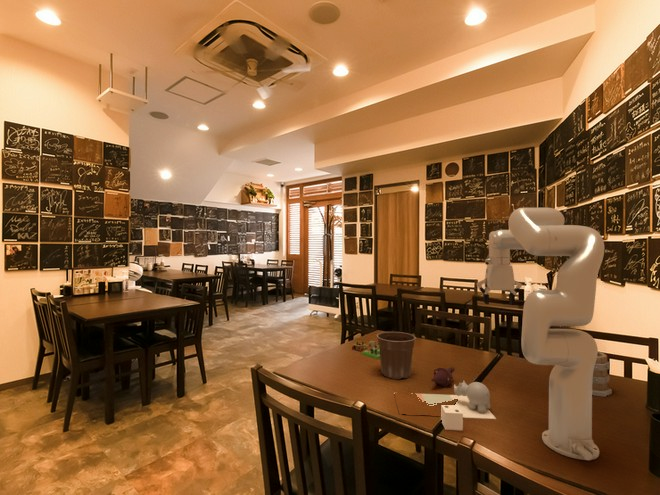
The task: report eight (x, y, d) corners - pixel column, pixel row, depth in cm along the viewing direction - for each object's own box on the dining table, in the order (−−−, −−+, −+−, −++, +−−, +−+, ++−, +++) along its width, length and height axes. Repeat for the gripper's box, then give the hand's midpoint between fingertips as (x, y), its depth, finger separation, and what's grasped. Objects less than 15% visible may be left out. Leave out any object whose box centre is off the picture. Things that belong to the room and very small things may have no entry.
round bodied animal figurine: (459, 396, 120) (459, 373, 120) (493, 408, 111) (493, 383, 111) (449, 402, 115) (449, 378, 115) (484, 416, 106) (484, 389, 106)
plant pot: (380, 365, 152) (380, 329, 152) (417, 369, 147) (417, 333, 147) (372, 378, 137) (373, 339, 137) (413, 384, 131) (413, 343, 131)
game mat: (496, 419, 105) (496, 418, 105) (399, 414, 107) (399, 414, 107) (477, 396, 121) (477, 395, 121) (393, 393, 123) (393, 392, 123)
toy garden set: (377, 360, 160) (377, 350, 160) (348, 351, 174) (349, 342, 174) (405, 350, 175) (405, 341, 175) (377, 342, 190) (377, 334, 190)
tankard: (599, 384, 132) (599, 346, 132) (617, 398, 120) (617, 356, 120) (542, 378, 137) (542, 342, 137) (553, 391, 125) (554, 351, 125)
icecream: (443, 377, 122) (463, 370, 132) (426, 366, 128) (446, 361, 138) (437, 394, 123) (458, 386, 133) (421, 382, 129) (442, 376, 139)
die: (462, 430, 98) (462, 413, 98) (445, 429, 99) (445, 412, 99) (457, 421, 103) (457, 405, 103) (440, 420, 104) (441, 404, 104)
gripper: (480, 262, 132) (480, 305, 132) (526, 262, 131) (525, 306, 131) (473, 261, 139) (473, 302, 140) (517, 261, 138) (516, 303, 138)
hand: (498, 304), depth 135 cm, fingers open, 9 cm apart
